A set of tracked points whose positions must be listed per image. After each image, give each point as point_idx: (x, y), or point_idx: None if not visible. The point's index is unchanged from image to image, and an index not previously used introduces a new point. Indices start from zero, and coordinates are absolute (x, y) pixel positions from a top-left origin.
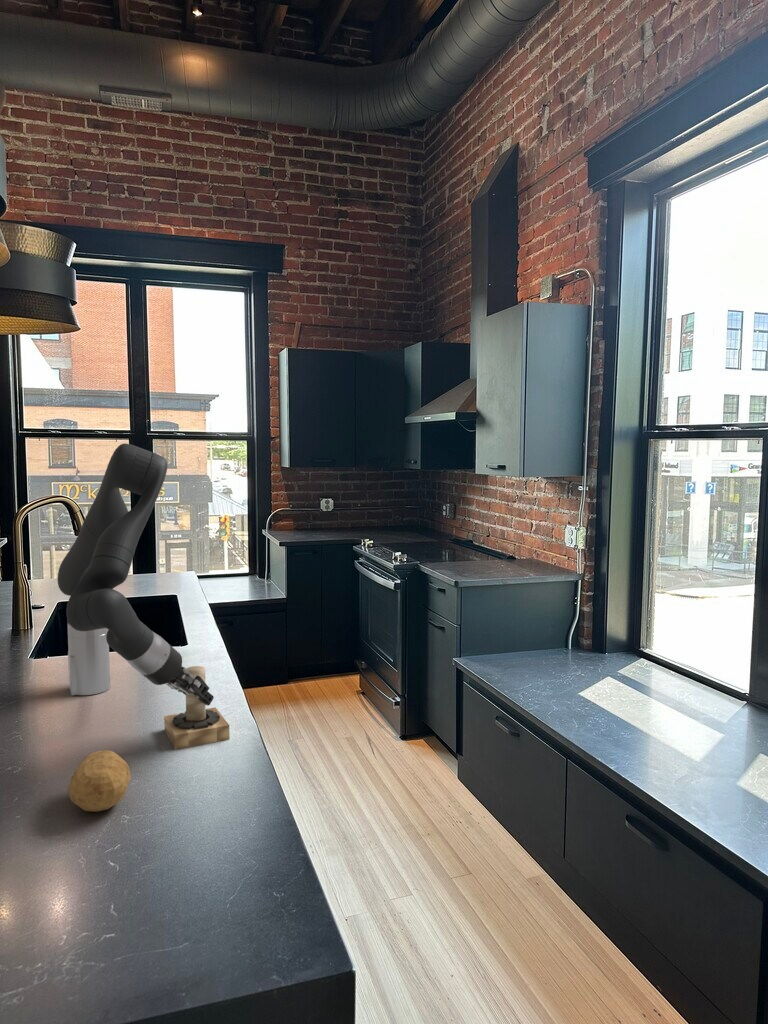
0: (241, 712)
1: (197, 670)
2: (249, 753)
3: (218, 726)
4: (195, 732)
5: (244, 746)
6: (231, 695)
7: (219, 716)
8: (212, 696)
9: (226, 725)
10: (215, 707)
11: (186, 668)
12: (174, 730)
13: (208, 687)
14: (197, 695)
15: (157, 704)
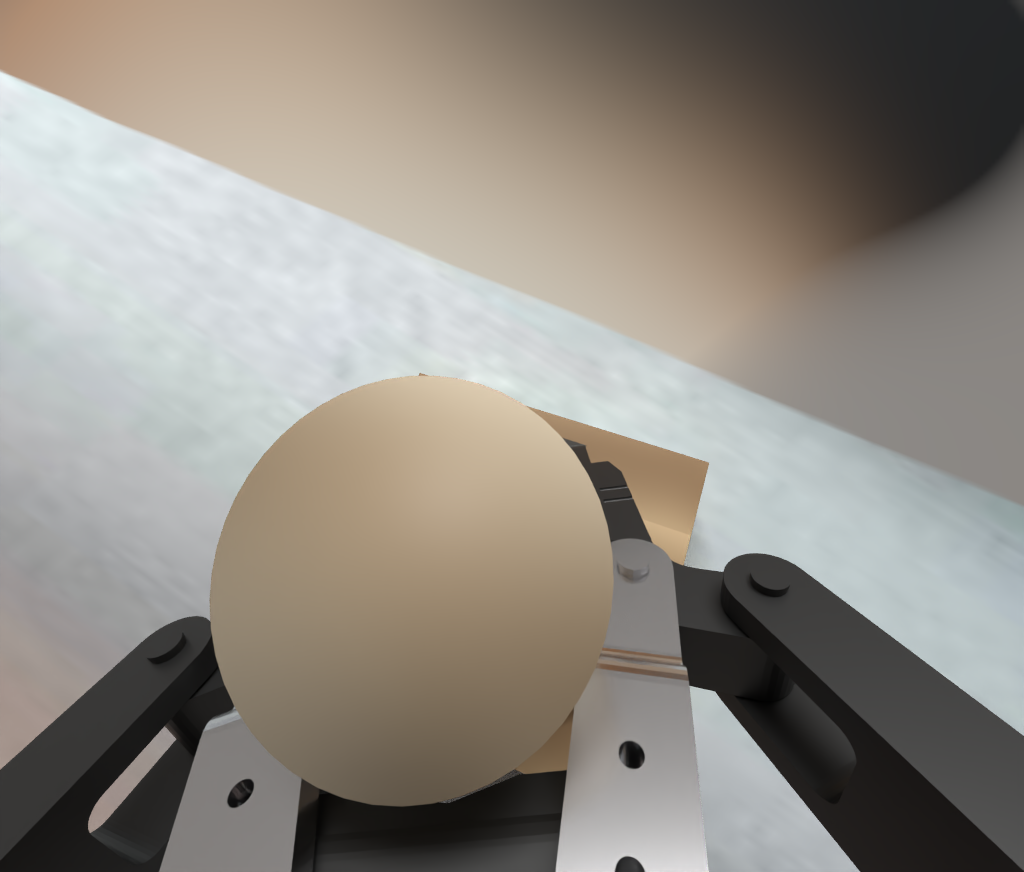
0: (450, 271)
1: (520, 585)
2: (907, 506)
3: (683, 519)
4: None
5: (812, 476)
6: (258, 203)
7: (585, 446)
8: (587, 454)
9: (703, 477)
10: (421, 374)
11: (228, 682)
12: (544, 765)
13: (818, 587)
14: (736, 717)
15: (44, 489)
